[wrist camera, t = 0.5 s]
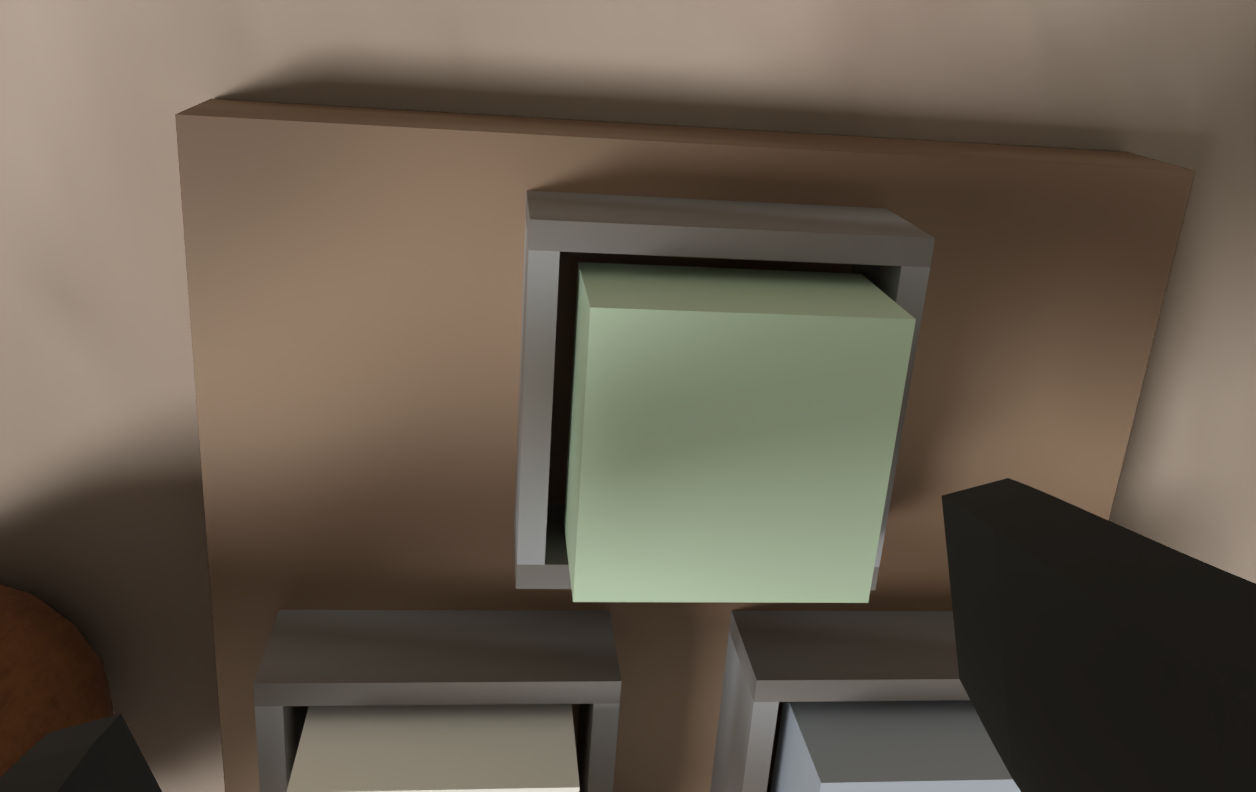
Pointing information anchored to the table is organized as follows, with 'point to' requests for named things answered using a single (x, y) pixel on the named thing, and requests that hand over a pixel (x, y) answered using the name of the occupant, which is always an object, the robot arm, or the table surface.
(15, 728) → the wooden figurine
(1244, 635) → the robot arm
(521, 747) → the white button
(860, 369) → the green button
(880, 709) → the grey button
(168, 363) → the table surface
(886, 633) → the console
